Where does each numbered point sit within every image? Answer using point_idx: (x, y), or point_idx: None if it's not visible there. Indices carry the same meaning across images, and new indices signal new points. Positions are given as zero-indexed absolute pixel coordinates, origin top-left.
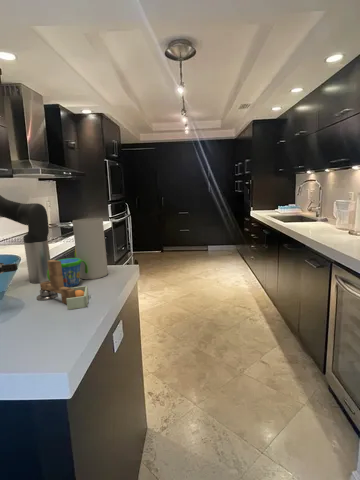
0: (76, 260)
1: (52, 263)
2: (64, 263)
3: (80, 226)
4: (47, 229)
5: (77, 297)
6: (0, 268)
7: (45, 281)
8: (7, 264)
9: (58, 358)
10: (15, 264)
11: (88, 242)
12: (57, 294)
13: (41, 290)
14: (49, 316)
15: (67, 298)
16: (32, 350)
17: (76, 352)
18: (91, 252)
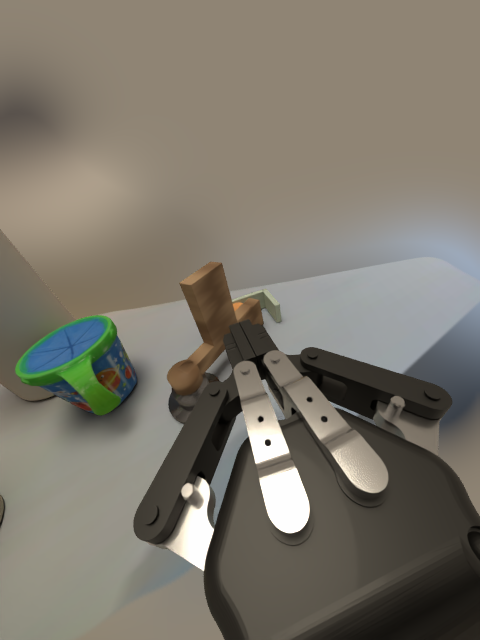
0: (73, 328)
1: (211, 276)
2: (108, 329)
3: None
4: None
5: (270, 295)
6: (290, 356)
7: (2, 504)
8: (243, 346)
9: (421, 267)
10: (242, 321)
11: (29, 278)
12: None
13: (193, 393)
14: (314, 331)
15: (275, 304)
16: (428, 292)
17: (399, 263)
18: (54, 302)
